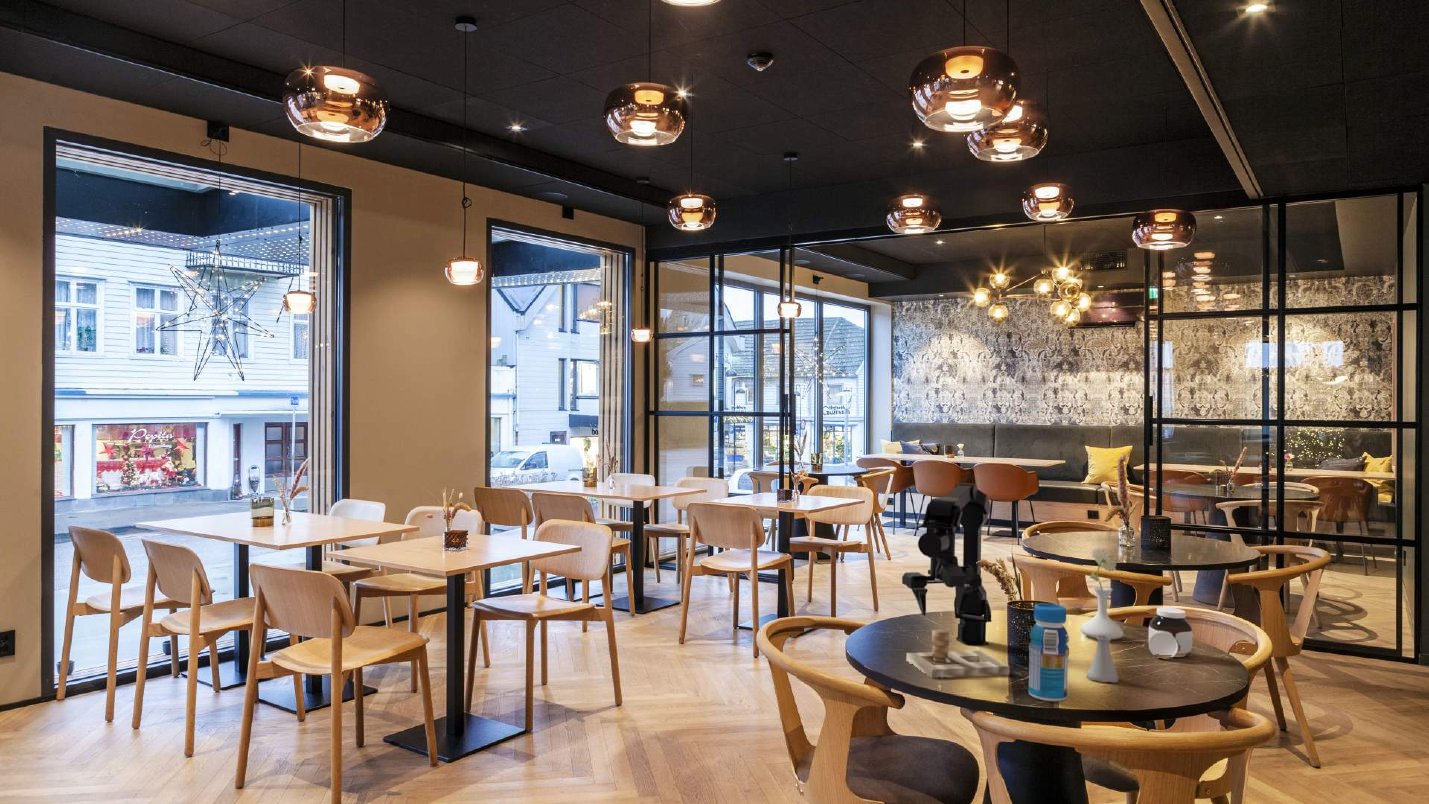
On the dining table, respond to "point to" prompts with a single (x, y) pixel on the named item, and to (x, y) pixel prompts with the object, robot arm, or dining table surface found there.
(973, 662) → the board
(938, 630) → the peg
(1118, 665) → the dining table surface
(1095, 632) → the flower in vase
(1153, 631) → the spread jar
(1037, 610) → the beverage bottle
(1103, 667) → the flask
